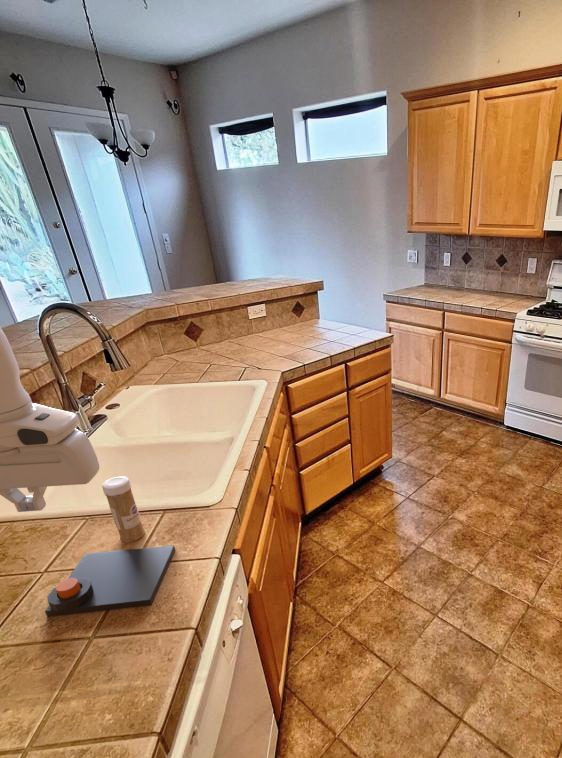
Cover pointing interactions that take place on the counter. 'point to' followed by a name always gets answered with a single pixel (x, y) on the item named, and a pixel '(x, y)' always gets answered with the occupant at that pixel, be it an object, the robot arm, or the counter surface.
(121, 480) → the sprinkles bottle
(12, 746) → the counter surface
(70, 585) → the button
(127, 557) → the scale
